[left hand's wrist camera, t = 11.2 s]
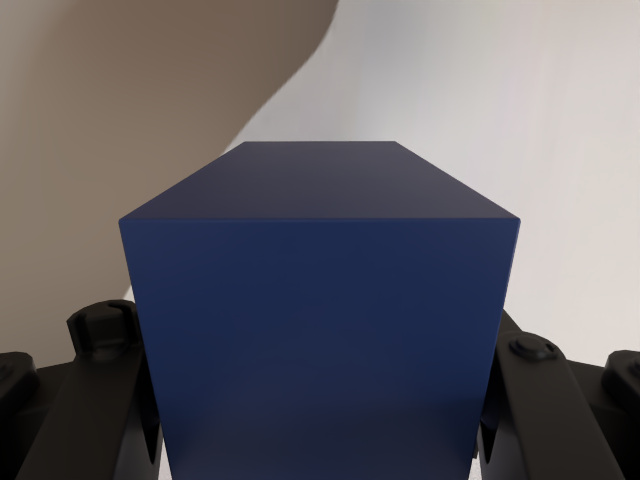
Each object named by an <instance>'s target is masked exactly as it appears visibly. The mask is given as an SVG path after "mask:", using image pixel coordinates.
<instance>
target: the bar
mask: <svg viewBox="0 0 640 480" xmlns="http://www.w3.org/2000/svg"><path fill="white" fill-rule="evenodd" d="M520 223H521V221H520V218H518V217H516V216H515V215H513V214H512V213H510V212H508V211H507V210H505V209H504V208H502V207H500V206H499V205H497V204H495V203H494V202H492V201H491V200H489V199H487V198H486V197H484V196H483V195H481V194H479V193H478V192H476V191H475V190H473V189H471V188H470V187H468V186H466V185H465V184H463V183H462V182H460V181H458V180H457V179H455V178H454V177H452V176H450V175H449V174H447V173H445V172H444V171H442V170H441V169H439V168H437V167H436V166H434V165H433V164H431V163H429V162H428V161H426V160H424V159H423V158H421V157H420V156H418V155H416V154H415V153H413V152H412V151H410V150H408V149H407V148H405V147H403V146H402V145H400V144H399V143H397V142H395V141H296V142H243V143H242V144H240V145H238V146H237V147H235V148H234V149H232V150H230V151H229V152H227V153H226V154H224V155H222V156H221V157H219V158H218V159H216V160H214V161H213V162H211V163H209V164H208V165H206V166H205V167H203V168H201V169H200V170H198V171H197V172H195V173H193V174H192V175H190V176H189V177H187V178H185V179H184V180H182V181H180V182H179V183H177V184H176V185H174V186H173V187H171V188H169V189H168V190H166V191H164V192H163V193H161V194H160V195H158V196H156V197H155V198H153V199H152V200H150V201H148V202H147V203H145V204H143V205H142V206H140V207H139V208H137V209H135V210H134V211H132V212H131V213H129V214H127V215H126V216H124V217H123V218H121V219H119V228H120V233H121V237H122V242H123V247H124V252H125V256H126V261H127V266H128V271H129V276H130V280H131V285H132V290H133V295H134V299H135V304H136V309H137V314H138V319H139V323H140V328H141V333H142V338H143V342H144V347H145V352H146V357H147V362H148V366H149V371H150V376H151V381H152V385H153V390H154V395H155V400H156V404H157V409H158V414H159V419H160V424H161V428H162V433H163V438H164V443H165V447H166V452H167V457H168V462H169V467H170V471H171V476H172V480H468V479H469V474H470V469H471V464H472V459H473V454H474V449H475V444H476V439H477V434H478V430H479V425H480V420H481V415H482V410H483V405H484V400H485V395H486V390H487V385H488V380H489V375H490V371H491V366H492V361H493V356H494V351H495V346H496V341H497V336H498V331H499V326H500V321H501V316H502V312H503V307H504V302H505V297H506V292H507V287H508V282H509V277H510V272H511V267H512V262H513V257H514V253H515V248H516V243H517V238H518V233H519V228H520Z"/></svg>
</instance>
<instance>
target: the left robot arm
mask: <svg viewBox="0 0 640 480" xmlns="http://www.w3.org/2000/svg"><path fill="white" fill-rule="evenodd" d="M66 322H67V325H68V328H69V332H70V335H71V339H72V342H73V345H74V349H75V352H76V356H75V358H74V360H73V361H72V362H69V363H64V364H59V365H54V366H49V367H44V368H39V369H36V367H35V364H34V361H33V358H32V357H31V356H30V355H28V354H27V353H23V352H9V353H0V480H158V476H159V468H160V460H161V451H162V443H163V433H162V428H161V424H160V419H159V414H158V409H157V404H156V400H155V395H154V390H153V385H152V381H151V376H150V371H149V366H148V362H147V357H146V352H145V347H144V342H143V338H142V333H141V328H140V323H139V319H138V314H137V309H136V304H135V303H134V302H132V301H128V300H123V299H122V300H108V301H103V302H98V303H95V304H93V305H90V306H87V307H84V308H82V309H81V310H79V311H77V312H76V313H74V314H73V315H72V316H71V317H70V318H69V319H68V320H67V321H66ZM478 451H479V459H480V467H481V475H482V480H640V352H637V351H630V350H620V351H614V352H613V353H611V354H610V355H609V356H608V359H607V362H606V365H605V367H600V366H595V365H590V364H585V363H580V362H575V361H571V360H567V359H566V358H565V356H564V354H563V353H562V351H561V350H560V349H559V348H558V347H557V346H556V345H555V344H553V343H552V342H550V341H549V340H547V339H545V338H543V337H540V336H538V335H536V334H532V333H528V332H524V331H522V330H521V329H520V328H519V327H518V325H517V324H516V323H515V322H514V321H513V320H512V318H511V317H510V316H509V315H508V314H507V312H506V311H505V310H504V309H503V312H502V316H501V321H500V326H499V331H498V336H497V341H496V346H495V351H494V356H493V361H492V366H491V371H490V375H489V380H488V385H487V390H486V395H485V400H484V405H483V410H482V415H481V420H480V425H479V430H478V434H477V439H476V444H475V449H474V454H473V458H474V459H477V454H478Z"/></svg>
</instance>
